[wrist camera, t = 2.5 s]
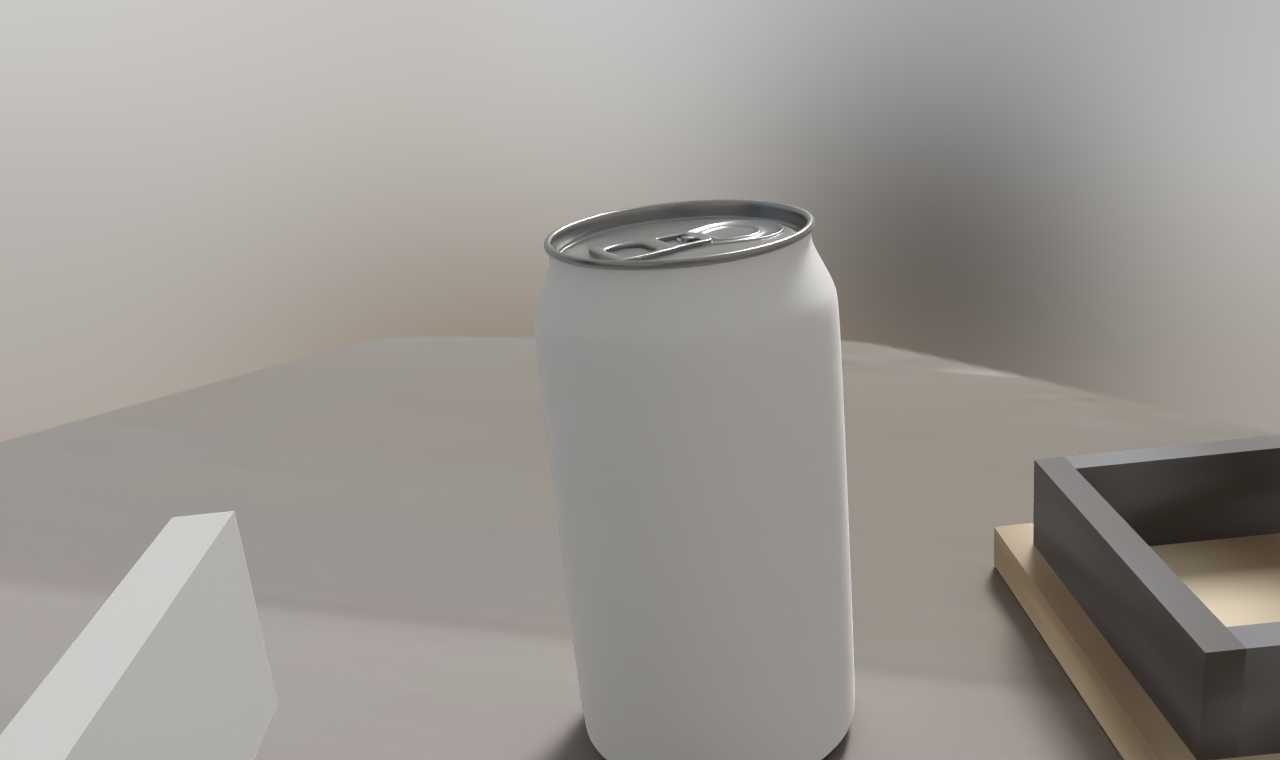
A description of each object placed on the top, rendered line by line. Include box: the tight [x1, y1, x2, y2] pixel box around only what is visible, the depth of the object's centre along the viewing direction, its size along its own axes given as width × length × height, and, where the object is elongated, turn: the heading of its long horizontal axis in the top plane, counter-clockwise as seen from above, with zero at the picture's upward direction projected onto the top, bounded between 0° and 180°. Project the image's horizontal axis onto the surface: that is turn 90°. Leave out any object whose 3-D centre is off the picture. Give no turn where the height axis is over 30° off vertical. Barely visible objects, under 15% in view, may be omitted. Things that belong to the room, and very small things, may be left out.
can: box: [534, 200, 855, 760], centre depth 27 cm, size 6×6×12 cm
